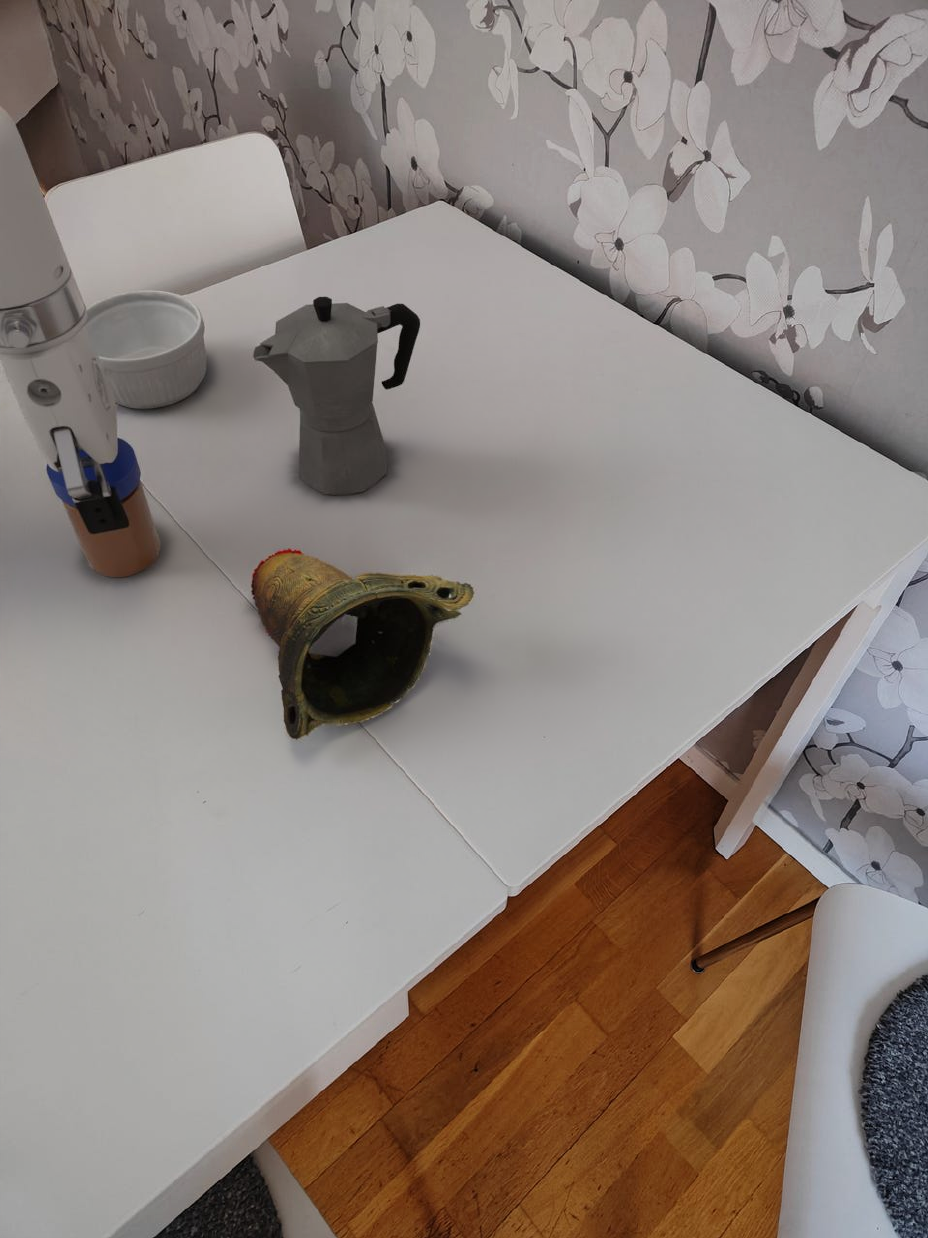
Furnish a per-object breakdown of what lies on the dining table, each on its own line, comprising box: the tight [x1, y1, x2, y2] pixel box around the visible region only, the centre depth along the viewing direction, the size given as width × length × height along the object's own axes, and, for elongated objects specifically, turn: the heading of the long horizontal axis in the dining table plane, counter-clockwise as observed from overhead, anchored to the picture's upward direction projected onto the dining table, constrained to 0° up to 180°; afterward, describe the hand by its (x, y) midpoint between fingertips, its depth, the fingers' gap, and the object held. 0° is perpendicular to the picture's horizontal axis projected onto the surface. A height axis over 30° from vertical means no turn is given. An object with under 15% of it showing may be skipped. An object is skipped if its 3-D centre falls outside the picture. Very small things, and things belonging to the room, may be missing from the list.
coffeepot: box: [252, 296, 421, 496], centre depth 79 cm, size 15×9×18 cm, turn 118°
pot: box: [250, 547, 475, 741], centre depth 68 cm, size 17×11×18 cm
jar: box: [61, 479, 161, 578], centre depth 75 cm, size 6×6×10 cm
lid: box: [45, 436, 142, 506], centre depth 71 cm, size 7×7×2 cm
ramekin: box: [85, 289, 207, 410], centre depth 92 cm, size 13×13×7 cm
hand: (108, 496), depth 73 cm, fingers closed on lid, 6 cm apart
